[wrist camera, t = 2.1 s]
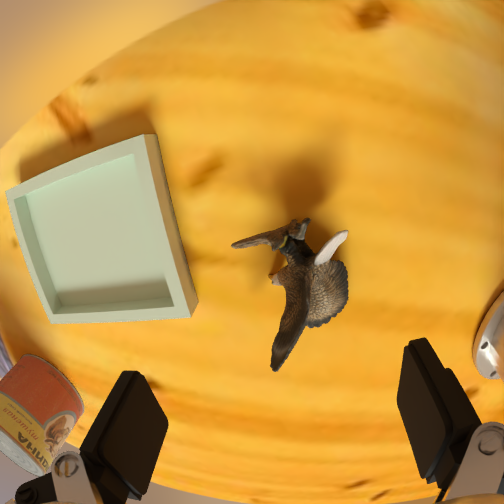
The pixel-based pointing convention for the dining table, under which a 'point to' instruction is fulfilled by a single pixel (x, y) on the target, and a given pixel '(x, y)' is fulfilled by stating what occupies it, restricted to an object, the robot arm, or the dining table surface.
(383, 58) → the dining table surface
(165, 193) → the tray
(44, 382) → the canned food
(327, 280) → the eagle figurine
